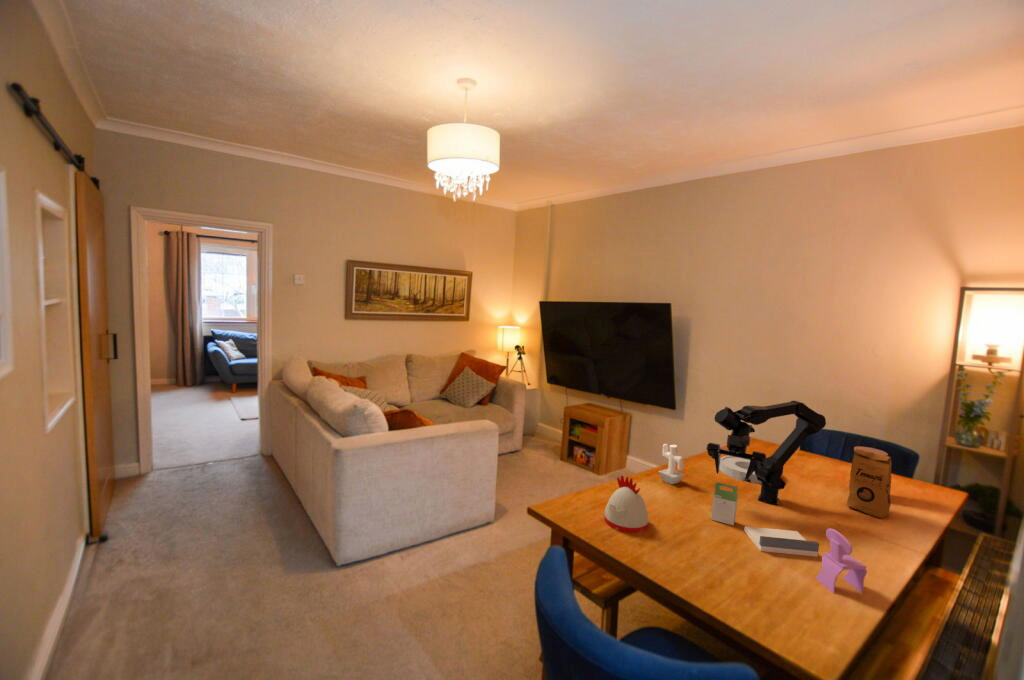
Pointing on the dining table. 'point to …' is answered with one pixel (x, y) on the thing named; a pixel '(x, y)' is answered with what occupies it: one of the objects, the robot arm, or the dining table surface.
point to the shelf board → (782, 541)
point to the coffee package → (870, 483)
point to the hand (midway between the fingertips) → (731, 476)
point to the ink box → (724, 504)
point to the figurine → (672, 465)
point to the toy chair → (840, 563)
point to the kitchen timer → (626, 508)
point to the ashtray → (737, 468)
